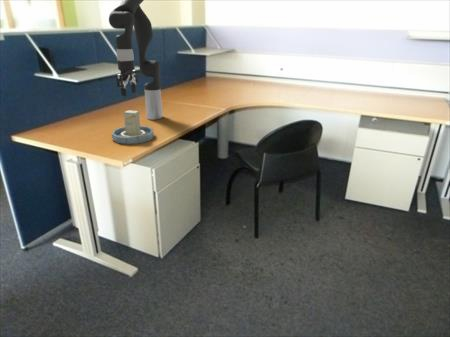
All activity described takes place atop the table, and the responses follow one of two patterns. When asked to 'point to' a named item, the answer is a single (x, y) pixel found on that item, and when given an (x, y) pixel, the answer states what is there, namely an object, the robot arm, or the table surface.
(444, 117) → the table surface
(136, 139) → the ring tray
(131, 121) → the skincare box
